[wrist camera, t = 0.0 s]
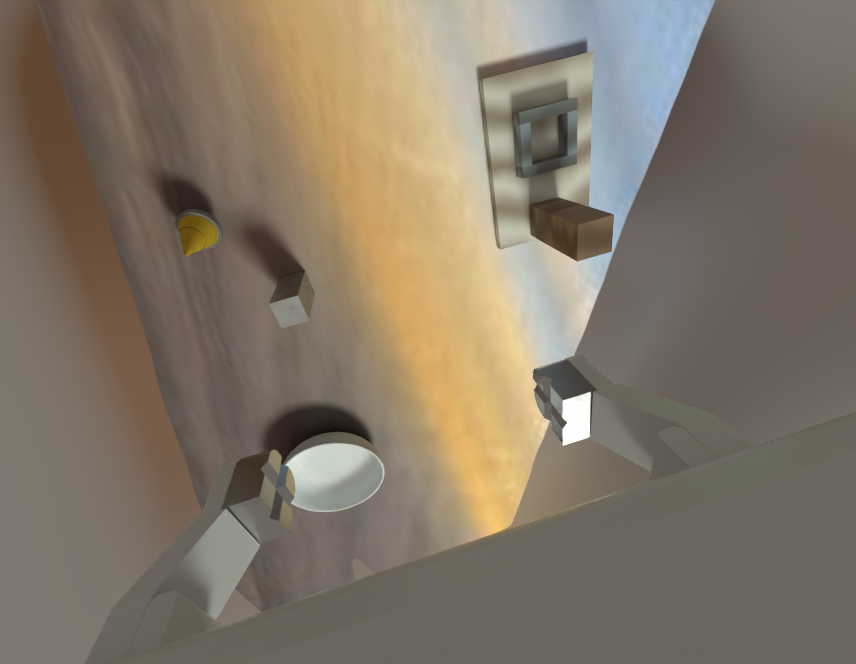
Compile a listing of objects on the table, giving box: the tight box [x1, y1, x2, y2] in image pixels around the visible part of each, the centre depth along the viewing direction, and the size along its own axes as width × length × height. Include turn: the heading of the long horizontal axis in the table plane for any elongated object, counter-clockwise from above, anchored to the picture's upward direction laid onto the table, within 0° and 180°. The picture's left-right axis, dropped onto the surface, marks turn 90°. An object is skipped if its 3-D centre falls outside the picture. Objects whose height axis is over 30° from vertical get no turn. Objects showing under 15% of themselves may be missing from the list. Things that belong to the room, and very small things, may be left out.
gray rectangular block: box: [269, 271, 315, 328], centre depth 53 cm, size 4×4×10 cm
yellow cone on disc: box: [175, 208, 223, 256], centre depth 46 cm, size 5×5×10 cm
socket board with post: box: [479, 51, 614, 261], centre depth 48 cm, size 24×16×16 cm, turn 12°
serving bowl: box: [283, 432, 384, 512], centre depth 74 cm, size 21×21×7 cm
